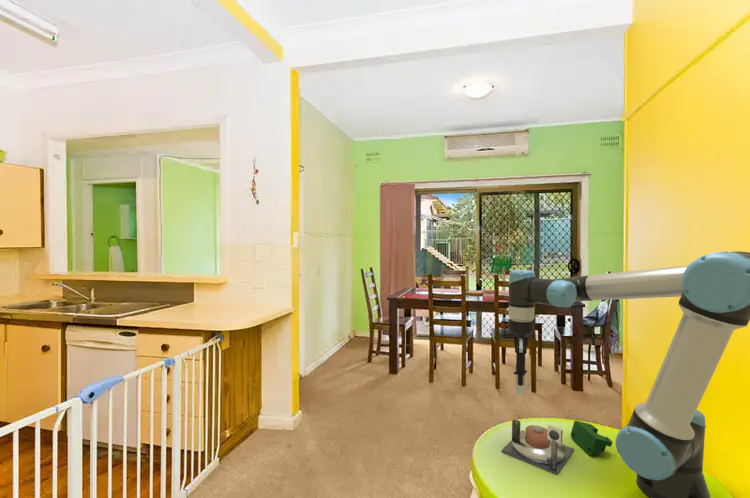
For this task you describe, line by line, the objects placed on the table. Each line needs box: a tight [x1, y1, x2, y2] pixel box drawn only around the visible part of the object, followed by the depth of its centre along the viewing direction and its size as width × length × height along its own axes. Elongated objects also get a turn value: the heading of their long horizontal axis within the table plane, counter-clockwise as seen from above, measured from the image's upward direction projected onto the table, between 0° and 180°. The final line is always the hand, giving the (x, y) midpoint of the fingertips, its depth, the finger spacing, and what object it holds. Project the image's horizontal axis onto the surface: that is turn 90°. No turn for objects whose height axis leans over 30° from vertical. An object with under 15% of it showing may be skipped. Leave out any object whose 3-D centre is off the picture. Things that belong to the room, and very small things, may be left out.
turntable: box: [511, 419, 566, 464], centre depth 118 cm, size 15×15×8 cm
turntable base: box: [501, 424, 575, 476], centre depth 118 cm, size 16×16×12 cm
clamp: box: [570, 420, 613, 457], centre depth 121 cm, size 12×6×9 cm, turn 177°
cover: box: [525, 424, 550, 449], centre depth 119 cm, size 7×7×4 cm
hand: (520, 394), depth 122 cm, fingers closed
